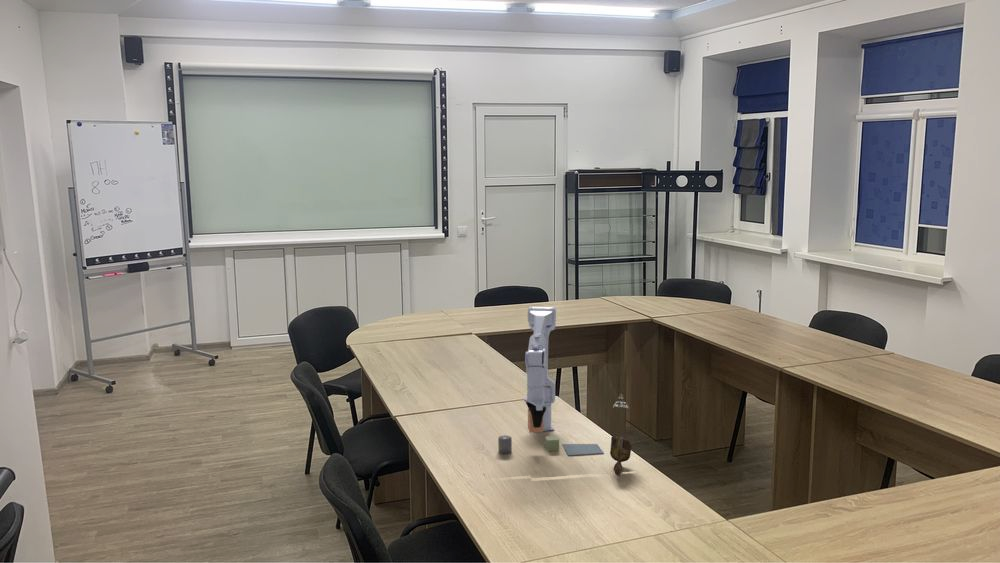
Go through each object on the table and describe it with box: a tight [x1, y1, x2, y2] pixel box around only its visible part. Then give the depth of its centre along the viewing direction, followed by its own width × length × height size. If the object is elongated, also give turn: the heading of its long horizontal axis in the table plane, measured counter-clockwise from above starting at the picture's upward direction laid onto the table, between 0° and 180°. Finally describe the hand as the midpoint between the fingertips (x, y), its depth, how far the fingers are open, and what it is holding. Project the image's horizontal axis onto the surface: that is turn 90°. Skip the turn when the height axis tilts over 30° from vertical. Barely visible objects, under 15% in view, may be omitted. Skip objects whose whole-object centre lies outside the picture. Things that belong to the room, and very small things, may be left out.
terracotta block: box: [527, 408, 544, 434], centre depth 246 cm, size 4×4×6 cm
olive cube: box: [544, 435, 560, 452], centre depth 247 cm, size 4×4×4 cm
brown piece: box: [609, 436, 633, 477], centre depth 229 cm, size 7×13×10 cm, turn 2°
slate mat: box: [561, 443, 605, 457], centre depth 249 cm, size 14×12×1 cm
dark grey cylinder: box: [498, 434, 513, 455], centre depth 245 cm, size 4×4×5 cm
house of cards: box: [613, 393, 629, 409], centre depth 287 cm, size 9×9×8 cm
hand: (535, 424), depth 246 cm, fingers closed on terracotta block, 4 cm apart
